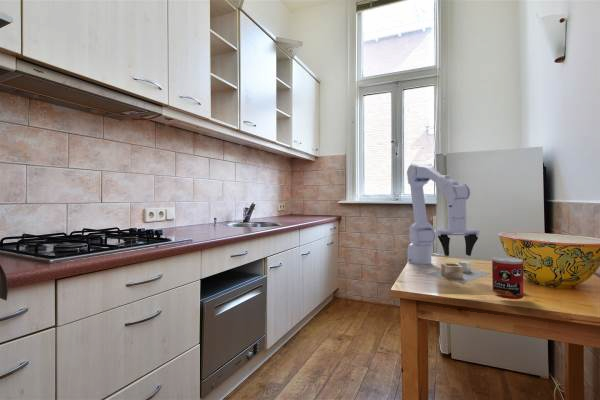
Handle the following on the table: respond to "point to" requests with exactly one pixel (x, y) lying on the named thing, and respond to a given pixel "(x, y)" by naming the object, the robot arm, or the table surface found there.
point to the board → (466, 276)
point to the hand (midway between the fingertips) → (457, 255)
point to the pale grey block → (465, 266)
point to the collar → (451, 270)
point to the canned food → (507, 277)
